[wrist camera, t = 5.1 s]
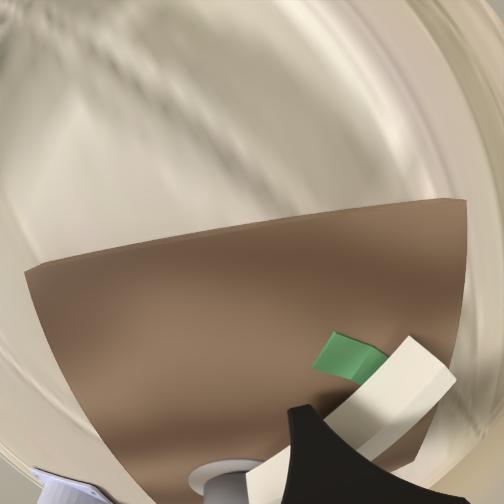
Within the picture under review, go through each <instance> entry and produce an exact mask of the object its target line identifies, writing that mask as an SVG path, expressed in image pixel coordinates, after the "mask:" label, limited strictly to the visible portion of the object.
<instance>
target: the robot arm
mask: <svg viewBox="0 0 504 504" xmlns="http://www.w3.org/2000/svg"><path fill="white" fill-rule="evenodd" d="M287 416H288V425H289V433H290V441H291V445H290V460H289V467H288V474H287V480H286V485H285V489H284V493H283V497H282V501H281V504H470V503H469V502H468V501H467V500H466V499H465V498H463V497H457V496H452V495H447V494H443V493H439V492H435V491H432V490H429V489H426V488H423V487H420V486H417V485H415V484H412V483H410V482H408V481H405V480H403V479H401V478H398V477H396V476H395V475H393V474H391V473H389V472H387V471H385V470H384V469H382V468H380V467H379V466H377V465H375V464H374V463H372V462H371V461H369V460H368V459H366V458H365V457H364V456H362V455H361V454H360V453H358V452H357V451H356V450H355V449H353V448H352V447H351V446H350V445H349V444H347V443H346V442H345V441H344V440H343V439H342V438H341V437H340V436H339V435H337V434H336V433H335V432H334V431H333V430H332V429H331V428H330V427H329V426H328V424H327V423H326V422H325V421H324V420H323V419H322V418H321V417H320V415H319V414H318V413H317V412H316V411H315V409H314V408H313V407H312V405H310V404H306V405H302V406H297V407H293V408H290V409H288V410H287ZM30 471H31V472H32V473H33V474H34V476H35V477H36V478H37V479H38V480H40V481H41V482H42V483H43V484H44V485H45V486H44V488H43V490H42V493H41V495H40V497H39V500H38V502H37V504H113V503H112V502H111V501H110V500H109V499H108V498H106V497H105V496H104V495H103V494H102V493H101V492H100V491H99V490H98V489H97V488H96V487H94V486H92V485H90V484H85V483H81V482H77V481H73V480H70V479H66V478H63V477H59V476H56V475H53V474H50V473H47V472H44V471H41V470H38V469H35V468H32V467H31V468H30Z"/></svg>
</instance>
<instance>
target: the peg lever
mask: <svg viewBox="0 0 504 504" xmlns="http://www.w3.org/2000/svg"><path fill="white" fill-rule="evenodd" d="M455 382H456V379H455V377H454V376H453V375H452V373H451V372H450V371H449V370H448V369H447V367H446V366H445V365H444V364H443V363H442V362H440V361H439V360H438V359H437V358H436V357H435V356H433V355H432V354H431V353H430V352H429V351H427V350H426V349H425V348H424V347H423V346H421V345H420V344H419V343H418V342H416V341H415V340H414V339H413V338H412V337H410V336H408V337H407V338H406V339H405V340H404V342H403V343H402V344H401V345H400V346H399V347H398V348H397V350H396V351H395V352H394V353H393V354H392V355H391V356H390V357H389V358H388V359H387V361H386V362H385V363H384V364H383V365H382V366H381V367H380V368H379V369H378V370H377V371H376V372H375V373H374V374H373V375H372V376H371V377H370V378H369V379H368V380H367V381H366V382H365V383H364V384H363V385H362V386H361V387H360V388H359V389H358V390H357V391H356V392H355V393H353V394H352V395H351V396H350V397H349V398H348V399H347V400H346V401H345V402H344V403H342V404H341V405H340V406H339V407H338V408H337V409H336V410H334V411H333V412H332V413H331V414H330V415H328V416H327V417H326V418H325V419H324V421H325V422H326V423H327V424H328V426H329V427H330V428H331V429H332V430H333V431H334V432H335V433H336V434H337V435H339V436H340V437H341V438H342V439H343V440H344V441H345V442H346V443H347V444H349V445H350V446H351V447H352V448H353V449H355V450H356V451H357V452H358V453H360V454H361V455H362V456H364V457H365V458H366V459H368V460H369V461H372V460H373V459H375V458H376V457H377V456H379V455H380V454H381V453H382V452H384V451H385V450H386V449H387V448H389V447H390V446H391V445H392V444H393V443H395V442H396V441H397V440H398V439H399V438H400V437H402V436H403V435H404V434H405V433H406V432H407V431H408V430H409V429H411V428H412V427H413V426H414V425H415V424H416V423H417V422H418V421H419V420H420V419H421V418H422V417H423V416H424V415H425V414H426V413H427V412H428V411H429V410H430V409H431V408H432V407H433V406H434V405H435V404H436V403H437V402H438V401H439V400H440V399H441V398H442V396H443V395H444V394H445V393H446V392H447V391H448V390H449V389H450V387H451V386H452V385H453V384H454V383H455ZM289 460H290V445H289V446H288V447H287V448H285V449H284V450H282V451H281V452H279V453H278V454H276V455H275V456H273V457H272V458H270V459H269V460H267V461H266V462H264V463H263V464H261V465H259V466H258V467H256V468H254V469H253V470H251V471H249V472H248V473H246V474H227V475H221V476H217V477H214V478H212V479H210V480H208V481H207V482H206V483H205V484H204V486H203V504H281V501H282V497H283V493H284V489H285V485H286V480H287V474H288V467H289Z"/></svg>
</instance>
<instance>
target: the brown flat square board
mask: <svg viewBox="0 0 504 504" xmlns="http://www.w3.org/2000/svg"><path fill="white" fill-rule="evenodd" d="M466 255H467V204H466V200H462V199H450V198H440V199H430V200H420V201H411V202H402V203H394V204H385V205H377V206H369V207H361V208H353V209H345V210H338V211H331V212H323V213H316V214H309V215H302V216H295V217H289V218H282V219H275V220H269V221H262V222H256V223H250V224H244V225H237V226H231V227H225V228H219V229H213V230H208V231H202V232H196V233H190V234H185V235H179V236H174V237H168V238H163V239H157V240H152V241H147V242H142V243H136V244H131V245H126V246H121V247H116V248H111V249H106V250H101V251H96V252H92V253H87V254H82V255H77V256H73V257H68V258H64V259H59V260H55V261H50V262H46V263H43V264H40V265H38V266H36V267H34V268H32V269H29V270H27V271H25V272H24V274H25V277H26V281H27V284H28V288H29V291H30V294H31V297H32V301H33V304H34V307H35V310H36V312H37V315H38V318H39V321H40V323H41V326H42V329H43V331H44V334H45V336H46V339H47V341H48V343H49V346H50V348H51V350H52V352H53V355H54V357H55V359H56V361H57V363H58V365H59V367H60V369H61V371H62V373H63V375H64V377H65V379H66V381H67V383H68V385H69V387H70V389H71V391H72V392H73V394H74V396H75V398H76V399H77V401H78V403H79V405H80V406H81V408H82V410H83V411H84V413H85V414H86V416H87V418H88V419H89V421H90V422H91V424H92V425H93V427H94V428H95V430H96V431H97V433H98V434H99V436H100V437H101V438H102V440H103V441H104V443H105V444H106V445H107V447H108V448H109V449H110V451H111V452H112V453H113V455H114V456H115V457H116V459H117V460H118V461H119V462H120V464H121V465H122V466H123V467H124V469H125V470H126V471H127V472H128V473H129V474H130V476H131V477H132V478H133V479H134V480H135V481H136V482H137V484H138V485H139V486H140V487H141V488H142V489H143V490H144V491H145V492H146V493H147V494H148V495H149V496H150V497H151V498H152V499H153V500H154V501H155V502H156V503H157V504H203V486H204V484H205V483H206V482H207V481H208V480H210V479H212V478H214V477H217V476H221V475H227V474H246V473H248V472H249V471H251V470H253V469H254V468H256V467H258V466H259V465H261V464H263V463H264V462H266V461H267V460H269V459H270V458H272V457H273V456H275V455H276V454H278V453H279V452H281V451H282V450H284V449H285V448H287V447H288V446H289V445H291V441H290V433H289V425H288V416H287V410H288V409H290V408H293V407H297V406H302V405H306V404H310V405H312V407H313V408H314V409H315V411H316V412H317V413H318V414H319V415H320V417H321V418H322V419H323V420H324V419H325V418H326V417H327V416H328V415H330V414H331V413H332V412H333V411H334V410H336V409H337V408H338V407H339V406H340V405H341V404H342V403H344V402H345V401H346V400H347V399H348V398H349V397H350V396H351V395H352V394H353V393H355V392H356V391H357V390H358V389H359V388H360V387H361V386H362V385H363V384H364V383H365V382H366V381H367V380H368V379H369V378H370V377H371V376H372V375H373V374H374V373H375V372H376V371H377V370H378V369H379V368H380V367H381V366H382V365H383V364H384V363H385V362H386V361H387V359H388V358H389V357H390V356H391V355H392V354H393V353H394V352H395V351H396V350H397V348H398V347H399V346H400V345H401V344H402V343H403V342H404V340H405V339H406V338H407V337H408V336H410V337H412V338H413V339H414V340H415V341H416V342H418V343H419V344H420V345H421V346H423V347H424V348H425V349H426V350H427V351H429V352H430V353H431V354H432V355H433V356H435V357H436V358H437V359H438V360H439V361H440V362H442V363H443V364H444V365H445V366H446V367H447V369H448V370H449V366H450V362H451V358H452V354H453V350H454V345H455V341H456V336H457V331H458V326H459V320H460V314H461V307H462V300H463V292H464V283H465V271H466ZM438 402H439V401H438ZM438 402H437V403H436V404H435V405H434V406H433V407H432V408H431V409H430V410H429V411H428V412H427V413H426V414H425V415H424V416H423V417H422V418H421V419H420V420H419V421H418V422H417V423H416V424H415V425H414V426H413V427H412V428H411V429H409V430H408V431H407V432H406V433H405V434H404V435H403V436H402V437H400V438H399V439H398V440H397V441H396V442H395V443H393V444H392V445H391V446H390V447H389V448H387V449H386V450H385V451H384V452H382V453H381V454H380V455H379V456H377V457H376V458H375V459H373V460H372V461H371V462H372V463H374V464H375V465H377V466H379V467H380V468H382V469H384V470H385V471H387V472H389V473H390V472H392V471H394V470H397V469H399V468H401V467H403V466H405V465H407V464H409V463H411V462H413V461H414V460H415V458H416V456H417V453H418V451H419V449H420V447H421V445H422V443H423V440H424V438H425V436H426V433H427V431H428V429H429V426H430V424H431V421H432V419H433V416H434V413H435V411H436V408H437V405H438Z"/></svg>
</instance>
